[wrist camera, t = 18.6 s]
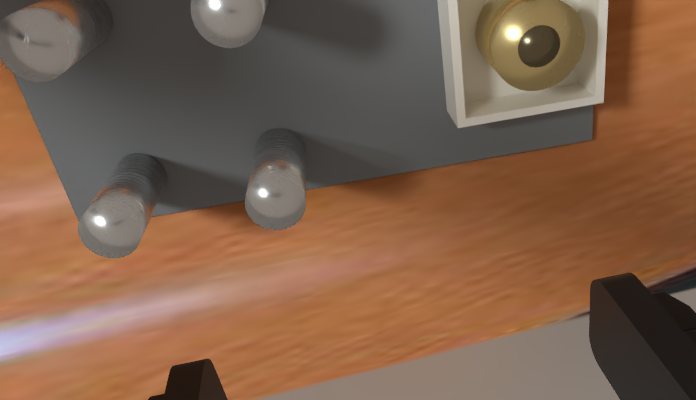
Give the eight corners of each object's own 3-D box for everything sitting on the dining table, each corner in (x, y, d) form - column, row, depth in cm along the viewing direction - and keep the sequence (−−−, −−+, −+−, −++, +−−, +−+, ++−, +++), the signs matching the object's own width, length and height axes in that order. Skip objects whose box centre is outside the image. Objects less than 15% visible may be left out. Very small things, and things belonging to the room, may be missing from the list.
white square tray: (434, -33, 33) (445, -26, 30) (586, -61, 33) (610, -55, 30) (447, 110, 37) (457, 128, 34) (582, 86, 37) (603, 102, 34)
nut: (472, -7, 33) (491, 7, 30) (558, -22, 33) (587, -9, 30) (477, 75, 36) (494, 97, 32) (557, 62, 36) (583, 83, 32)
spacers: (43, -8, 32) (-18, 18, 26) (263, -48, 32) (253, -32, 26) (125, 201, 39) (90, 262, 33) (309, 169, 38) (310, 224, 32)
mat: (-25, -25, 32) (-29, -23, 32) (598, -140, 32) (602, -140, 31) (84, 225, 40) (82, 229, 39) (589, 137, 39) (592, 140, 39)
